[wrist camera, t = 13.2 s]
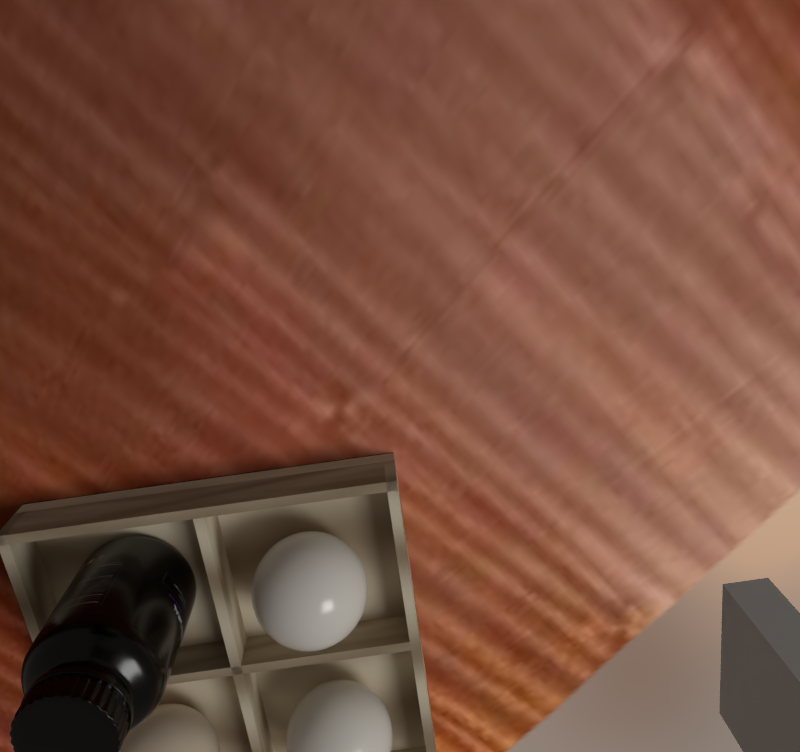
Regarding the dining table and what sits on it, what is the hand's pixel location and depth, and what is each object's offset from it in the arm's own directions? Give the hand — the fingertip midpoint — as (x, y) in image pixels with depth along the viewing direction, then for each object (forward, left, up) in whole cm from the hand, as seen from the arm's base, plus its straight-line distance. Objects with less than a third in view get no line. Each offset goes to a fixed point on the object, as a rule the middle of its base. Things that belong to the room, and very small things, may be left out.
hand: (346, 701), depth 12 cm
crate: (+20, -10, -29) cm, 36 cm away
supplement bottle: (+15, -15, -28) cm, 35 cm away
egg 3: (+25, -5, -28) cm, 38 cm away
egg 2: (+15, -5, -28) cm, 32 cm away
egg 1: (+25, -15, -28) cm, 41 cm away
